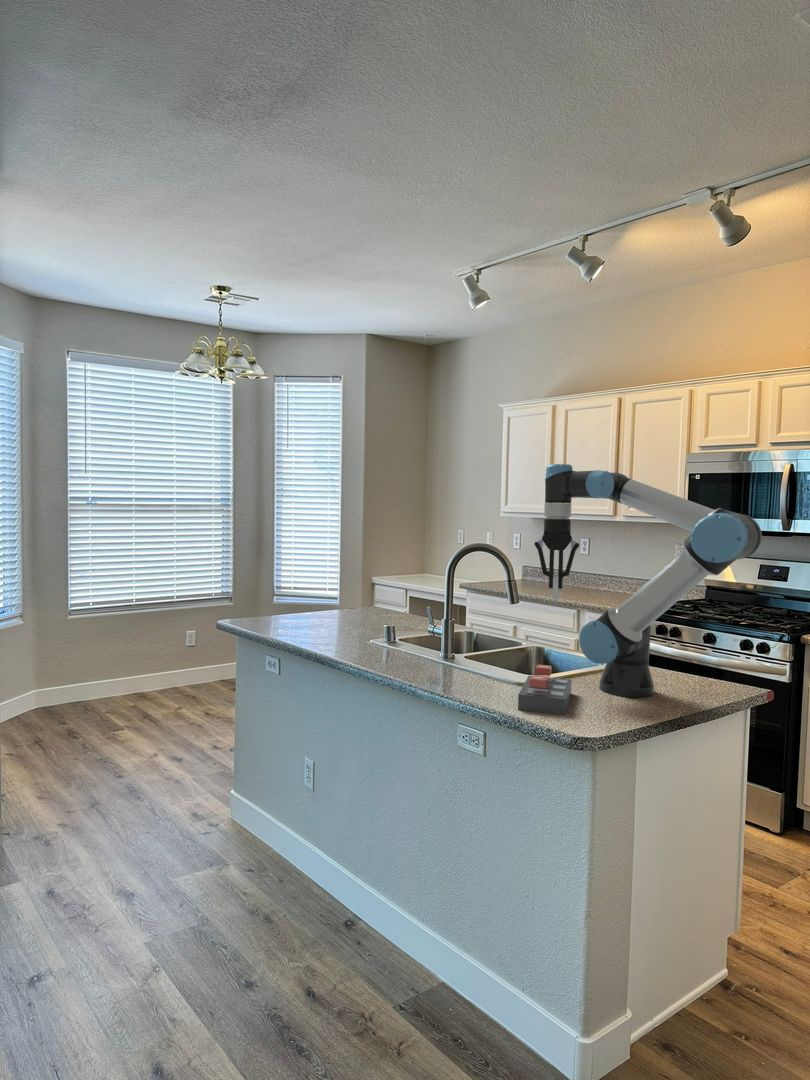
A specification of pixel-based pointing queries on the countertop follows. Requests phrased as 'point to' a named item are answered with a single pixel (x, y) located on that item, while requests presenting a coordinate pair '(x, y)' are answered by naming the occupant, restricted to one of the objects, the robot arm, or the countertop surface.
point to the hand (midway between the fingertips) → (555, 599)
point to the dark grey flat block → (546, 696)
